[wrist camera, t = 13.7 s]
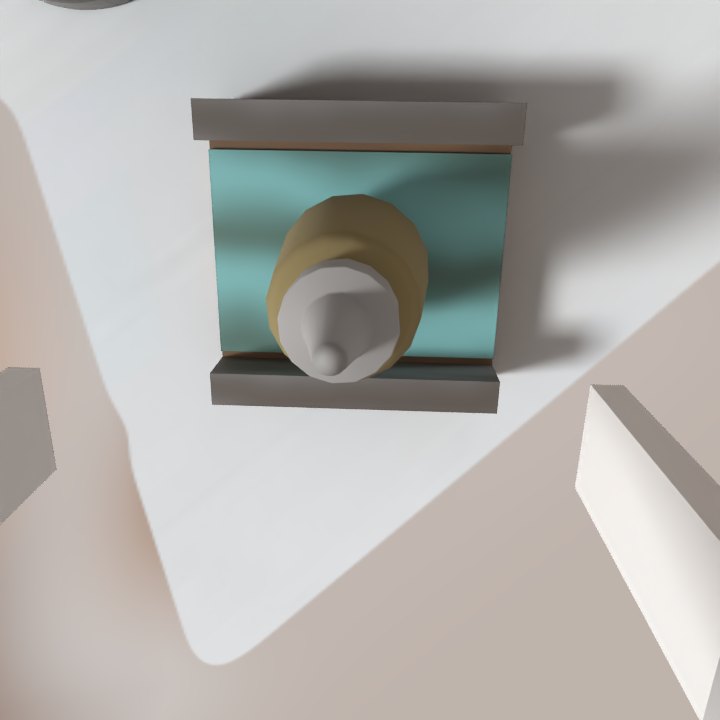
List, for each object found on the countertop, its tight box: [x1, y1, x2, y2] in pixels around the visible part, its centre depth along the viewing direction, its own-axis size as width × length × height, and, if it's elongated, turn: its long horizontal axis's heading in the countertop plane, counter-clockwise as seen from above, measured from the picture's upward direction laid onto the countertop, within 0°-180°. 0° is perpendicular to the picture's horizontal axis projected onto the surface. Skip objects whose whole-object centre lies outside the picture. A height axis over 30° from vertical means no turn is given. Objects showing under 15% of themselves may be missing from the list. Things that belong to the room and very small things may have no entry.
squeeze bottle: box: [266, 194, 429, 383], centre depth 28 cm, size 8×8×18 cm
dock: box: [191, 98, 527, 414], centre depth 37 cm, size 17×17×6 cm
